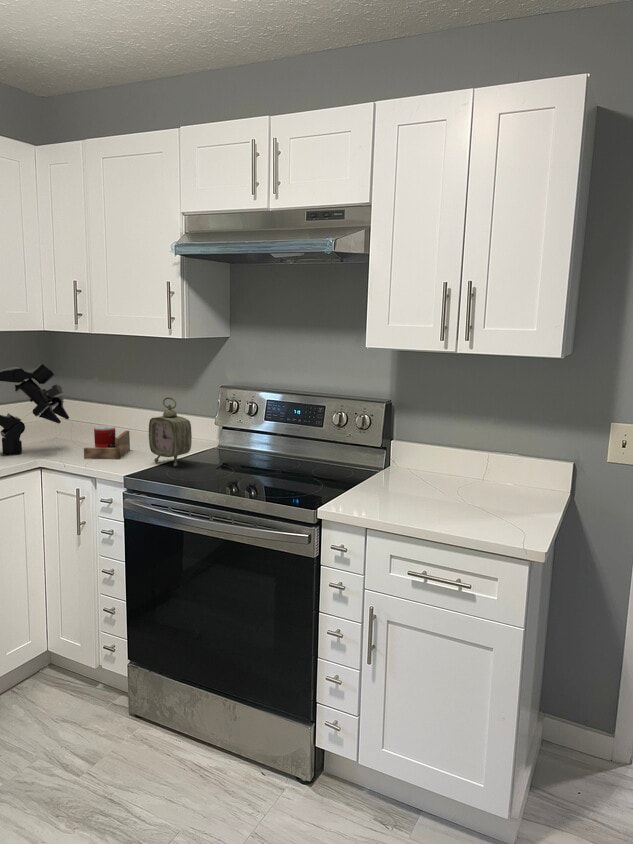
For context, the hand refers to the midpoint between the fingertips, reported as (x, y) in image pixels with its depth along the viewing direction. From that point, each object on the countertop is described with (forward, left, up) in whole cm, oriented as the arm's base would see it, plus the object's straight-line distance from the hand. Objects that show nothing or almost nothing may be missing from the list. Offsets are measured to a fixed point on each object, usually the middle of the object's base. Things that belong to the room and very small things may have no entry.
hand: (64, 420), depth 255 cm
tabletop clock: (+36, -33, -13) cm, 51 cm away
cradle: (+14, -10, -12) cm, 22 cm away
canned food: (+14, -10, -13) cm, 22 cm away
